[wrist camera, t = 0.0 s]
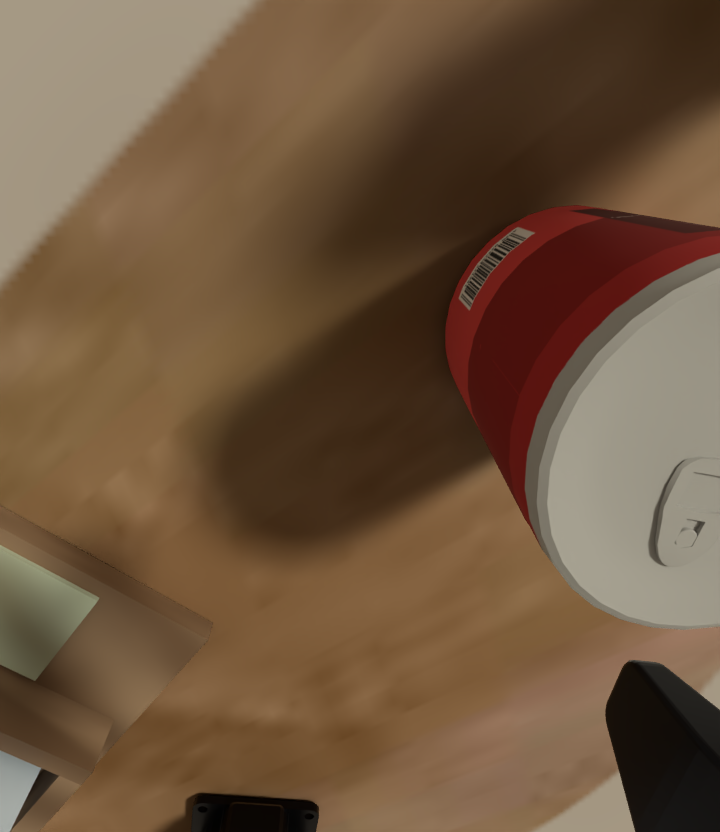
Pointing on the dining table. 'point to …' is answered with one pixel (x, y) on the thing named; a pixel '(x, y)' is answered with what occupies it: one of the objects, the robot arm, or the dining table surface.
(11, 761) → the block
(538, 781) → the dining table surface
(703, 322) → the canned food
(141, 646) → the brown slotted holder
